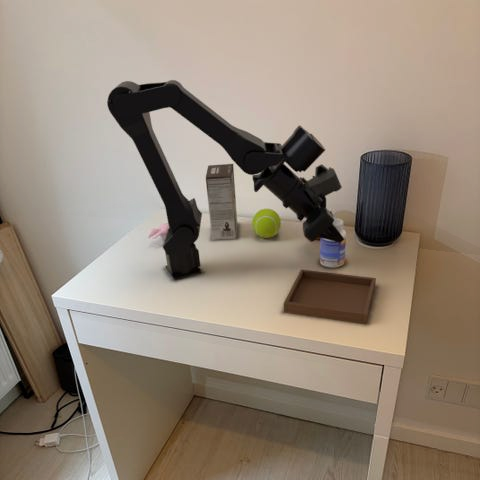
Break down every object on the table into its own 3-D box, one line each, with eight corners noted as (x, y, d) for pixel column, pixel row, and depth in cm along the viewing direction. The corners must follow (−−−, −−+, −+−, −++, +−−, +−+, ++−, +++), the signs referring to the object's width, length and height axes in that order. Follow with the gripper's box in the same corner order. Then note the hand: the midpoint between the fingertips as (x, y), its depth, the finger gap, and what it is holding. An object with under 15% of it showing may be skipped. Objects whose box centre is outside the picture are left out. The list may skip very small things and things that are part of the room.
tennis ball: (253, 230, 124) (252, 204, 120) (281, 230, 123) (280, 203, 119) (252, 243, 118) (250, 215, 114) (280, 242, 117) (280, 215, 113)
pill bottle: (344, 269, 105) (347, 227, 99) (318, 267, 106) (320, 226, 100) (344, 257, 109) (347, 216, 104) (320, 256, 110) (322, 216, 105)
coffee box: (213, 225, 128) (207, 164, 119) (237, 224, 128) (233, 163, 119) (211, 240, 121) (205, 176, 111) (237, 239, 120) (232, 175, 111)
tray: (283, 312, 93) (283, 302, 92) (300, 277, 103) (300, 269, 102) (365, 324, 88) (366, 314, 87) (375, 286, 98) (376, 277, 97)
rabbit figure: (177, 228, 131) (141, 242, 119) (176, 206, 128) (139, 218, 117) (196, 232, 128) (161, 247, 117) (196, 209, 126) (159, 222, 114)
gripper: (324, 173, 87) (380, 226, 93) (311, 144, 102) (360, 192, 108) (281, 217, 91) (336, 265, 97) (274, 183, 107) (323, 226, 113)
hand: (340, 234), depth 104 cm, fingers closed on pill bottle, 5 cm apart
